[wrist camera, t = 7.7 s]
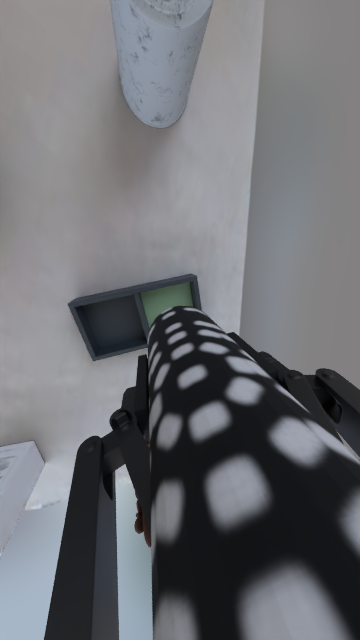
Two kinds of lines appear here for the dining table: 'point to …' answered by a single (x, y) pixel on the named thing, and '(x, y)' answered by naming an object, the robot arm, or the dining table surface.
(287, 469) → the white-spotted black cylinder
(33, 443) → the tall white carton
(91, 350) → the divided tray
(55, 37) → the dining table surface
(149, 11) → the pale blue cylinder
